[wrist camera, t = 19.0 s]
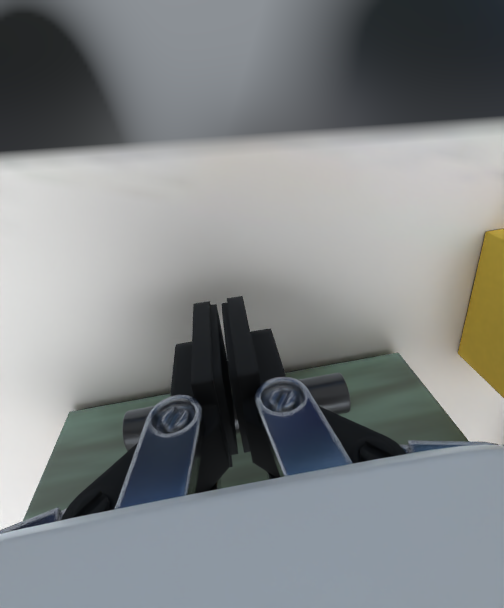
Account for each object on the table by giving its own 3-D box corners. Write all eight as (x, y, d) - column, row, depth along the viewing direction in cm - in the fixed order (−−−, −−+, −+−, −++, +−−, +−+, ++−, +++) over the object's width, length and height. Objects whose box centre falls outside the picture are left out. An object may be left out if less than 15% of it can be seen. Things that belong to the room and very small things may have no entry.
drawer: (38, 356, 15) (-73, 526, 9) (405, 292, 16) (533, 409, 10) (139, 538, 23) (117, 695, 17) (382, 489, 24) (444, 622, 18)
